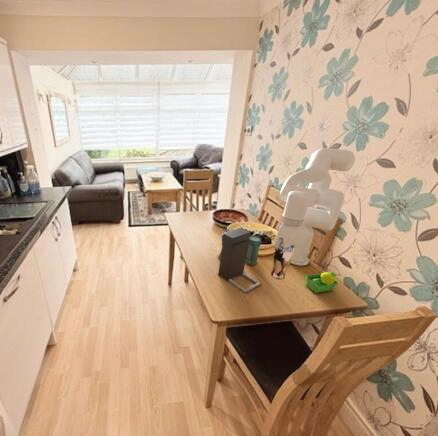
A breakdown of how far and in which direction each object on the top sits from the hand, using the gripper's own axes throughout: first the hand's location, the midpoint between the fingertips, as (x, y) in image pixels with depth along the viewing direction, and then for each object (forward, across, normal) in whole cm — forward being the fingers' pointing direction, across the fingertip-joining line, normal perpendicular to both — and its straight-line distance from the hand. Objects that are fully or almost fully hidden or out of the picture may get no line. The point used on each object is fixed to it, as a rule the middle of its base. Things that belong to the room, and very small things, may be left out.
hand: (282, 257), depth 105 cm
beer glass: (+10, 0, 0) cm, 10 cm away
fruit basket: (+18, -19, +11) cm, 29 cm away
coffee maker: (+18, +8, -15) cm, 25 cm away
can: (+18, -10, -21) cm, 30 cm away
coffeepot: (+18, -2, -31) cm, 36 cm away
